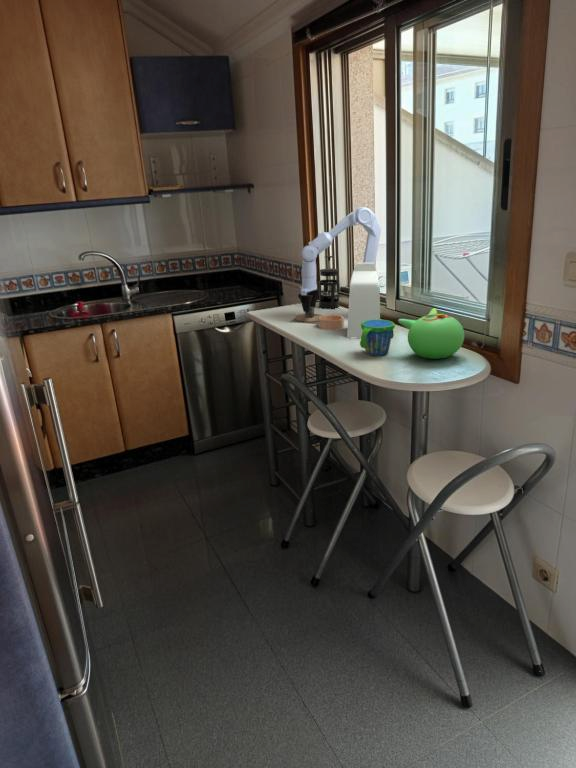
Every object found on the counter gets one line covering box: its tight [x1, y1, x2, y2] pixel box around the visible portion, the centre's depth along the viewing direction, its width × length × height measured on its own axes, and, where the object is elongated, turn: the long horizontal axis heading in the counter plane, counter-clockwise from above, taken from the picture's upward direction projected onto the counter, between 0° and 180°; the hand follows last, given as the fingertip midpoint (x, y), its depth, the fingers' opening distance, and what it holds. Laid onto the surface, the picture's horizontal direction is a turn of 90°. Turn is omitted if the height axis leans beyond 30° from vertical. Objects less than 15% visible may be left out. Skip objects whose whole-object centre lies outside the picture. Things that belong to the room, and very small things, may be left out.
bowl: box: [318, 314, 345, 331], centre depth 210 cm, size 10×10×4 cm
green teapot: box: [397, 307, 465, 360], centre depth 170 cm, size 18×17×15 cm
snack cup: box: [359, 318, 396, 357], centre depth 176 cm, size 16×10×10 cm
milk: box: [346, 262, 381, 338], centre depth 197 cm, size 12×12×26 cm
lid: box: [294, 307, 324, 324], centre depth 222 cm, size 12×12×5 cm
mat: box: [289, 318, 319, 325], centre depth 223 cm, size 13×13×1 cm
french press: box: [316, 255, 340, 310], centre depth 242 cm, size 12×9×23 cm
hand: (309, 309), depth 221 cm, fingers open, 7 cm apart
